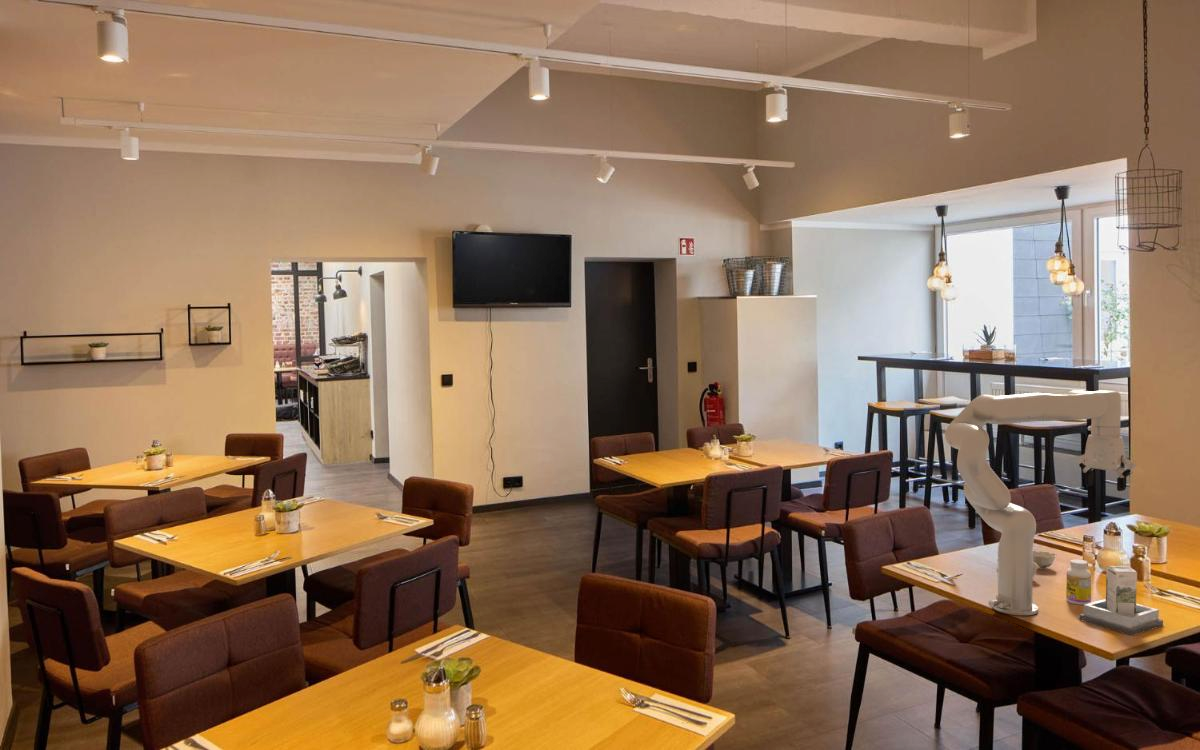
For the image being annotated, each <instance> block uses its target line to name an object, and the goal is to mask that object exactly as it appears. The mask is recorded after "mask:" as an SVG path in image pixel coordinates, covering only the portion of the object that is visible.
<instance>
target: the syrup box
mask: <svg viewBox="0 0 1200 750" xmlns="http://www.w3.org/2000/svg"><path fill="white" fill-rule="evenodd" d="M1105 580H1106V581H1105V599H1106V610H1109V611H1113V612H1116V613H1120V614H1123V615H1127V616H1132V615H1135V614H1136V604H1137V591H1138V590H1137V589H1138V587H1137V586H1138V585H1137V584H1138V572H1137V571H1136V570H1135V569H1133V567H1131V566H1127V565H1107V566H1106V577H1105Z"/></svg>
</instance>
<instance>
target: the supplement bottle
mask: <svg viewBox="0 0 1200 750" xmlns="http://www.w3.org/2000/svg"><path fill="white" fill-rule="evenodd" d="M1088 563H1089V561H1087V560H1083V559H1078V558H1077V559H1071V560H1070V562H1069V564H1070V567H1068V568H1067V570H1066V589H1065V590H1066V593H1065V594H1066V595H1065V597H1066V598H1065V599H1066V601H1067V602H1068V603H1070V604H1072V605H1077V606H1078V605H1079V606H1084V605H1085V604H1089V603H1092V572H1091V571H1090V570H1089V569H1088V566H1089V564H1088Z"/></svg>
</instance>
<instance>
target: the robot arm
mask: <svg viewBox="0 0 1200 750" xmlns="http://www.w3.org/2000/svg"><path fill="white" fill-rule="evenodd" d="M1121 400H1122V397H1121V393H1120V392H1118V391H1117V390H1107V389H1106V390H1095V391H1090V390H1089V391H1088V390H1078V389H1073V390H1070V391H1068V392H1066V393H1065V394H1055V393H1054V394H1053V393H1043V392H1042V393H1041V392H1029V393H1021V394H1009V395H992V394H981V395H978V396H977V397H975V398H974V399H972V400H971V401H970V402H969V403H968V404H967V405H966V406H965V407H964V408H963V409H962V410H961V411H960V412H959V413H958V414H957V416H956V417H955V418H954V419H953V420H952V421H951V422H950V423H949V424H948V426H947V427H946V429H945V433H944V437H945V441H946V443H947V444H948V445H949V446H951V448H953V449H956V450H958V452H957V457H956V459H957V460H956V466H957V467H956V468H957V471H958V473H959V475H960V477H961V478H962V480H963V482H964V485H963V492H964V496H965V498H966V500H967V501H968V503H969V504H970V505H971V507H972V508H973V509H974V510H975V511H976V513H977V514H978V515H979V516H980V518H982V520H983V521H984V522H985V523H986V524H987V526H989V527H991V528H992V529H993V530H995V531H997V532H1000V533H1001V537H1000V539H999V541H998V546H997V559H998V561H997V594H996V595H995V598H994V599H992V600H989V601H988V602H987V603H988V606H989V607H990V608H993V610H995V611H996V612H1000V613H1003V614H1006V615H1014V616H1032V615H1033V616H1034V615H1036V614H1037V613H1038V612H1039V607H1038V606H1037V605H1036V604H1035V603H1033V590H1034V589H1033V586H1034V585H1033V583H1034V582H1033V579H1034V577H1033V551H1034V541H1035V536H1036V532H1037V521H1036V518H1035V517H1034V515H1033V513H1032V512H1031V511H1030V510H1028V509H1026V508H1025V507H1023V506H1020V505H1017V504H1015V503H1012V502H1011V500H1012V498H1011V492H1010V490H1009V488H1008V487H1007V486H1006V484H1005V483H1004V482H1003V481H1002V480H1001V478H1000V477H999V476H998V475H997V474H996V472H995V471H994V470H993V469H992V467H991V466H990V464H989V463H988V460H987V454H988V453H987V452H988V448H989V445H990V437H989V434H988V432H987V430H986V429H985V428H984V427H985V426H986V424H990V425H991V424H992V425H1009V424H1020V423H1031V422H1053V421H1054V422H1057V421H1079V420H1090V419H1091V424H1090V425H1089V426H1088V427H1087V430H1088V431H1090V434H1088V437H1087V440H1086V443H1085V450H1084V453H1083V454H1081V455H1078V456H1077V457H1076V461H1077V462H1078V466H1079V468H1080V469H1081V470H1082V472H1083V473H1084V482H1085V483H1084V486H1086V487H1090V486H1093V485H1094V484H1095V483H1094V482H1095V481H1094V479H1095V478H1094V475H1095V473H1094V471H1093V470H1094V469H1095V470H1096V469H1097V470H1103V471H1109V472H1115V473H1116V474H1117V476H1118V477H1117V478H1116V490H1117V492H1123V491H1126V488H1127V478H1128V477H1129V476H1130V475H1131V474H1132V473H1133V471H1134V470H1135V468H1136V466H1137V464H1136V463H1135V462H1133V461H1132V460H1130V459H1129V458H1127V457H1126V450H1125V449H1126V448H1125V443H1124V439H1123V436H1121V413H1122V412H1121V410H1122V409H1121V408H1122V407H1121V406H1122V405H1121V403H1122V401H1121ZM1126 466H1127V469H1125V468H1126Z"/></svg>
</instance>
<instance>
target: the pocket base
mask: <svg viewBox="0 0 1200 750" xmlns="http://www.w3.org/2000/svg"><path fill="white" fill-rule="evenodd" d="M1159 610H1160V609H1158V608H1154V607H1150V606H1146V605H1144V604H1139V603H1136V614H1135V615H1132V616H1127V615H1123V614H1120V613H1116V612H1113V611H1109V610H1106V598H1104V599H1103V598H1102V599H1100V600H1096V601H1093V602H1092V601H1091V602H1090V603H1089V604H1085V605H1083V613H1080V614H1079V621H1082V620H1083V621H1082V622H1085V621H1086V623H1089V624H1093V625H1095V626H1100V627H1102V628H1106V629H1109V630H1112V631H1115V630H1116V632H1119V633H1122V632H1123V634H1125V633H1126V634H1125V635H1130V636H1135V634H1136V635H1138V633H1139V634H1142V633H1144V632H1143V631H1145V632H1148V631H1150V630H1149V629H1151V630H1153V629H1152V628H1154V629H1156V628H1155V627H1157V628H1160V627H1162V625H1163V626H1164V620H1163V619H1160V618H1159V617H1160V616H1159V613H1160V611H1159ZM1159 626H1160V627H1159ZM1147 630H1148V631H1147ZM1141 632H1142V633H1141Z"/></svg>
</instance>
